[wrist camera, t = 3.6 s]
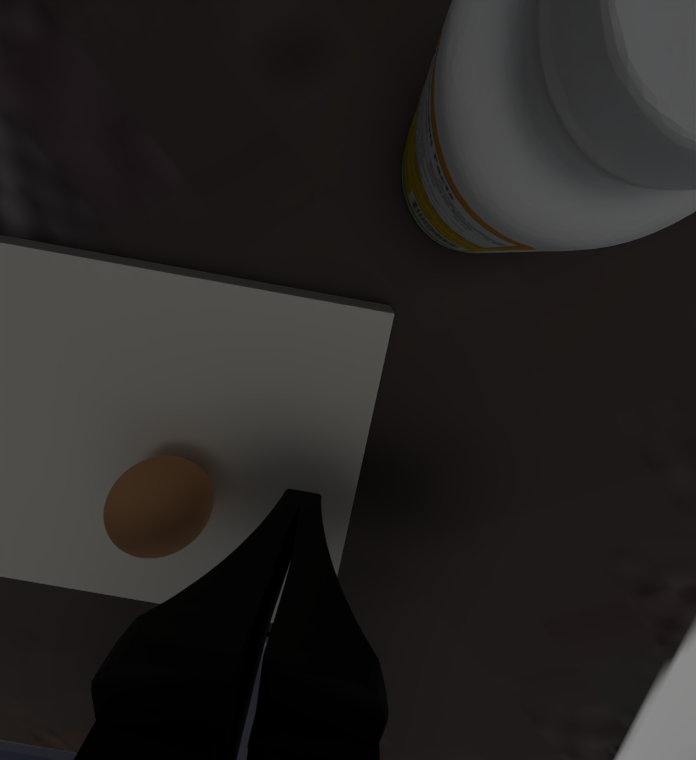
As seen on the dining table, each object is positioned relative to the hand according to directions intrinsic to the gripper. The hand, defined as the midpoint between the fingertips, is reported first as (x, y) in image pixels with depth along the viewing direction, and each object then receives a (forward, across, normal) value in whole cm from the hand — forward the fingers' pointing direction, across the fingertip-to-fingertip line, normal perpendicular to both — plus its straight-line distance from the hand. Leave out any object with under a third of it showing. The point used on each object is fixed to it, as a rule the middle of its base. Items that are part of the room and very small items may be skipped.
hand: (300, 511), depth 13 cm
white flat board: (+3, +11, 0) cm, 11 cm away
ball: (-1, +5, 0) cm, 5 cm away
